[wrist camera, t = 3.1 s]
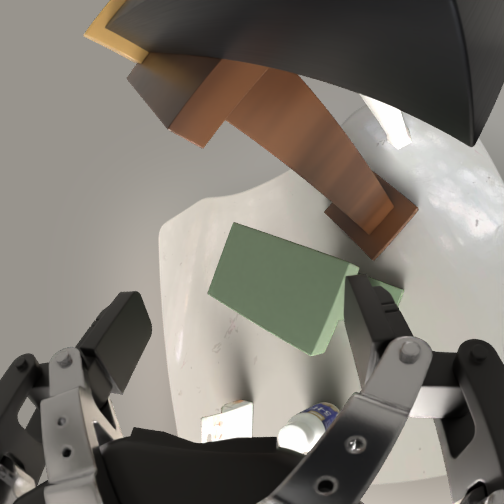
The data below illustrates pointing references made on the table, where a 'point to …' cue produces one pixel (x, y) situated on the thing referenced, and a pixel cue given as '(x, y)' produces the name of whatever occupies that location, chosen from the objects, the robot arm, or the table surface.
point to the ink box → (229, 422)
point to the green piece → (285, 287)
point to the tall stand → (276, 134)
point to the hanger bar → (337, 47)
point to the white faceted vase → (389, 122)
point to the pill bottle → (307, 427)
